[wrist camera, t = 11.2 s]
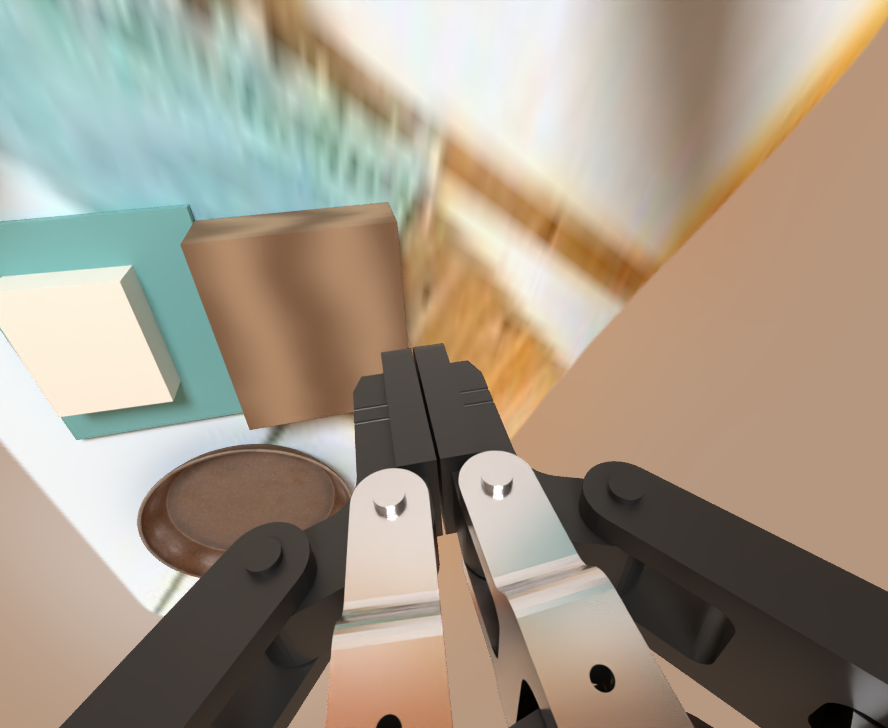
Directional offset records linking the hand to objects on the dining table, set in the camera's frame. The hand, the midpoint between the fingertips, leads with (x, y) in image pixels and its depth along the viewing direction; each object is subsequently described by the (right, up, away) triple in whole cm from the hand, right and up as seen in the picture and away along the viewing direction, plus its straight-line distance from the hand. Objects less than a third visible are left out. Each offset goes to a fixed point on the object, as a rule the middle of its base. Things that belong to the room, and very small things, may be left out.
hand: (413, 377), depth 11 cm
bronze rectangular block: (-9, +4, +22) cm, 24 cm away
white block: (-21, +1, +17) cm, 28 cm away
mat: (-21, +2, +20) cm, 29 cm away
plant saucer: (-17, -12, +32) cm, 38 cm away
